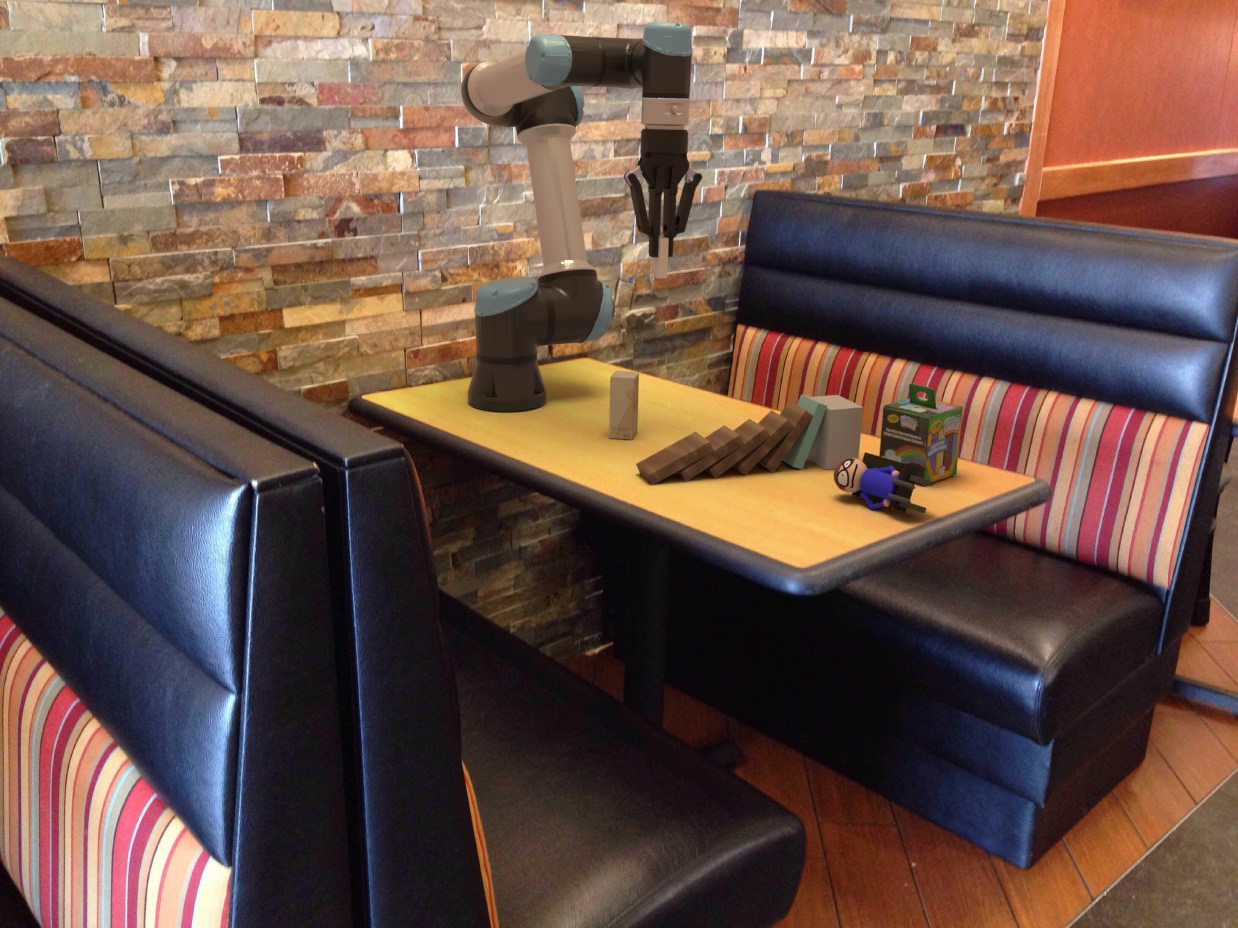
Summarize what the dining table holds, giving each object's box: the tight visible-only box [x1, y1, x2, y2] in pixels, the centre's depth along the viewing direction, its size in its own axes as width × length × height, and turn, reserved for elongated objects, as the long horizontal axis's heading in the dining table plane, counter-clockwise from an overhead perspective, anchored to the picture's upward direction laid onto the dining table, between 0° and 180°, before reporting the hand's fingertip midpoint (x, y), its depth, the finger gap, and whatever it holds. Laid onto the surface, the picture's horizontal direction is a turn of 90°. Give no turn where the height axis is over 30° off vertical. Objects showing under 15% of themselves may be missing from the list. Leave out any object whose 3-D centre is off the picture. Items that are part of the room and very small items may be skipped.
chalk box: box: [878, 382, 964, 487], centre depth 174 cm, size 9×9×15 cm
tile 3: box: [704, 418, 770, 479], centre depth 175 cm, size 2×6×11 cm
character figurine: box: [833, 452, 934, 515], centre depth 160 cm, size 8×7×15 cm
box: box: [608, 370, 640, 440], centre depth 191 cm, size 5×4×11 cm
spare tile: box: [782, 393, 827, 470], centre depth 178 cm, size 2×6×11 cm, turn 20°
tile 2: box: [674, 424, 744, 482], centre depth 173 cm, size 2×6×11 cm
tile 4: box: [731, 409, 794, 476], centre depth 176 cm, size 2×6×11 cm
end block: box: [806, 394, 864, 470], centre depth 180 cm, size 8×6×10 cm
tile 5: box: [757, 401, 813, 473], centre depth 177 cm, size 2×6×11 cm
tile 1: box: [635, 431, 714, 485], centre depth 172 cm, size 2×6×11 cm
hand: (659, 277), depth 181 cm, fingers closed
